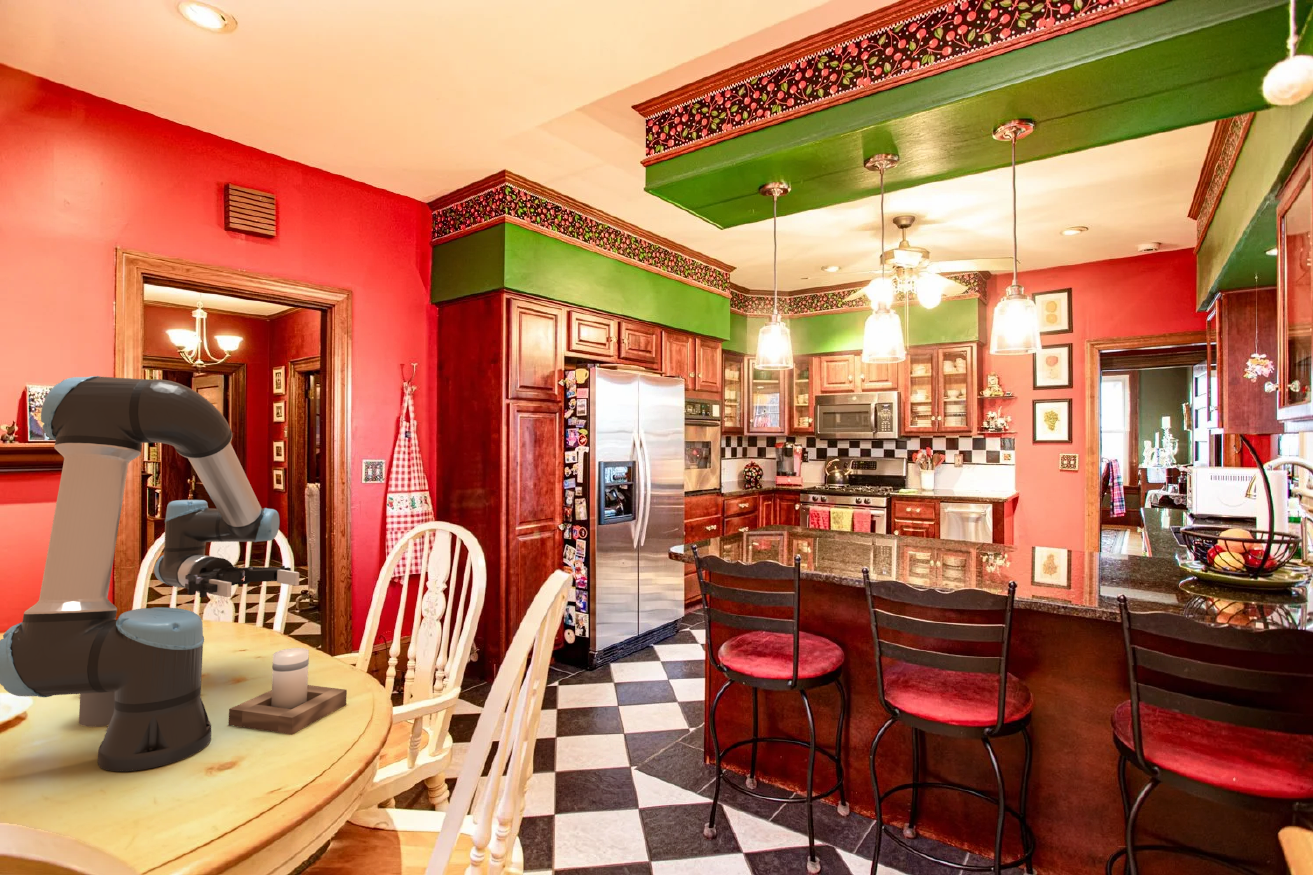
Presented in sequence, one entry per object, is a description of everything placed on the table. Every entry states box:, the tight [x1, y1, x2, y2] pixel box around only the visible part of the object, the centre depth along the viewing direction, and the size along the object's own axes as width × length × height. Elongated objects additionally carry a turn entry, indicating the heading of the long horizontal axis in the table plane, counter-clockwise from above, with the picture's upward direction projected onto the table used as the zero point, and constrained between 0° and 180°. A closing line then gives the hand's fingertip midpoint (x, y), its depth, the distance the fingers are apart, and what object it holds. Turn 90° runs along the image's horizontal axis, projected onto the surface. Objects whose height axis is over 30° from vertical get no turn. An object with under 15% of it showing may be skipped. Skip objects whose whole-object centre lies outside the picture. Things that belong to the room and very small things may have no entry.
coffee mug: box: [78, 692, 115, 728], centre depth 122 cm, size 13×10×10 cm
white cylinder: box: [271, 647, 310, 709], centre depth 123 cm, size 6×6×12 cm
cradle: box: [228, 684, 348, 735], centre depth 123 cm, size 14×14×3 cm
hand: (265, 584), depth 128 cm, fingers open, 13 cm apart
